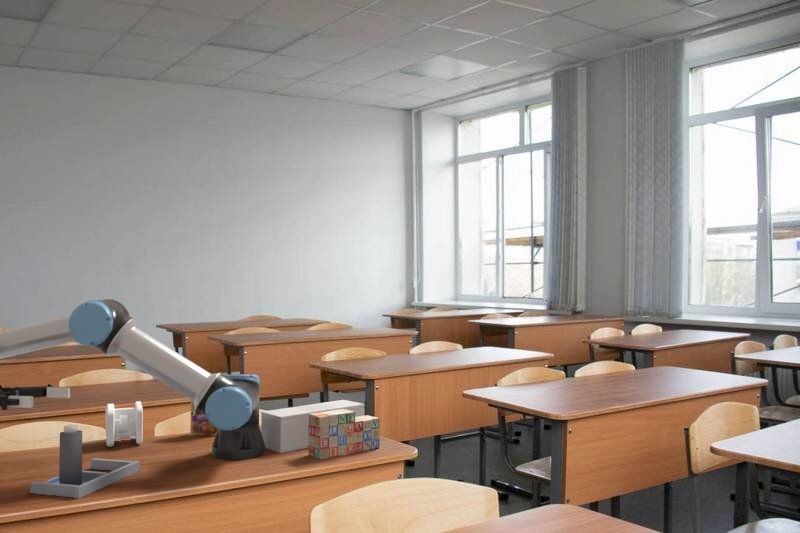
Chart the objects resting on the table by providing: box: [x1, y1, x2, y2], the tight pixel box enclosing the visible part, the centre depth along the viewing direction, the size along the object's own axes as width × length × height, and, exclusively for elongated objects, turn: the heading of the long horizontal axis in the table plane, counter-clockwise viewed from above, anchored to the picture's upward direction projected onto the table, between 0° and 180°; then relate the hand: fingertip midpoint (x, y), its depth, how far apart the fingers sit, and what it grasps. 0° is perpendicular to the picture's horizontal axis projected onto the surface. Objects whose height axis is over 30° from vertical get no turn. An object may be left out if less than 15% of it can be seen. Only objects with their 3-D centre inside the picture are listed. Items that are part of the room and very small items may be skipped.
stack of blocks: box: [308, 409, 381, 460], centre depth 210 cm, size 21×6×12 cm, turn 129°
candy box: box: [189, 399, 218, 437], centre depth 230 cm, size 9×4×15 cm, turn 96°
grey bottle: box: [58, 424, 83, 486], centre depth 173 cm, size 5×5×14 cm
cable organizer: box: [104, 400, 144, 448], centre depth 219 cm, size 15×11×12 cm
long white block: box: [260, 399, 365, 454], centre depth 223 cm, size 32×11×11 cm, turn 133°
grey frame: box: [29, 458, 141, 499], centre depth 178 cm, size 14×24×2 cm, turn 167°
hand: (51, 397), depth 182 cm, fingers open, 13 cm apart
